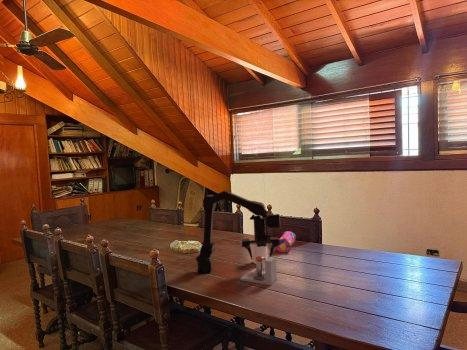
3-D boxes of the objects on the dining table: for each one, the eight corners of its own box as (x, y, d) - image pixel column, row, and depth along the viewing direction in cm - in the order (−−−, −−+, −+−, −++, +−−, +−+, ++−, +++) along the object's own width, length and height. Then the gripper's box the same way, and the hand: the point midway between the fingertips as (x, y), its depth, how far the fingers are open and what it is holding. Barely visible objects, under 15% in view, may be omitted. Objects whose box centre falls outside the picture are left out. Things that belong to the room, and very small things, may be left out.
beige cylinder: (255, 266, 176) (254, 243, 175) (250, 261, 184) (250, 240, 183) (269, 264, 178) (269, 242, 178) (264, 259, 186) (263, 238, 185)
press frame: (240, 280, 157) (239, 257, 157) (255, 268, 172) (254, 248, 171) (271, 285, 149) (270, 261, 149) (284, 273, 164) (284, 251, 163)
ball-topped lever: (253, 278, 155) (252, 258, 154) (257, 275, 159) (256, 255, 158) (263, 280, 152) (262, 259, 152) (267, 277, 156) (266, 256, 156)
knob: (254, 268, 168) (254, 255, 168) (266, 268, 169) (265, 254, 168) (255, 272, 163) (255, 258, 162) (267, 272, 163) (267, 258, 162)
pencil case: (291, 253, 195) (291, 238, 194) (275, 253, 198) (275, 238, 197) (296, 244, 215) (296, 230, 215) (282, 243, 218) (281, 229, 218)
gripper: (241, 232, 156) (243, 265, 157) (281, 230, 156) (282, 263, 157) (240, 227, 167) (242, 258, 168) (277, 225, 168) (278, 256, 169)
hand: (261, 258), depth 165 cm, fingers open, 9 cm apart
